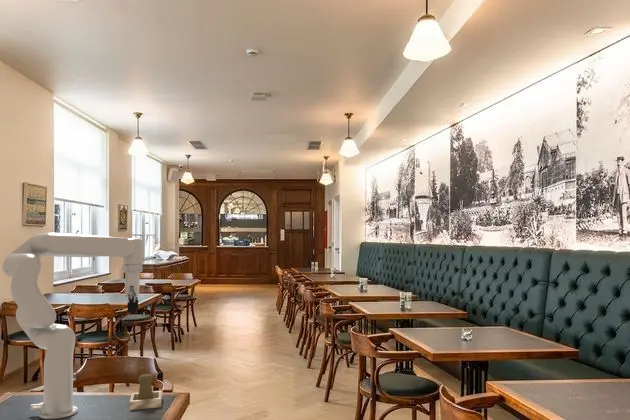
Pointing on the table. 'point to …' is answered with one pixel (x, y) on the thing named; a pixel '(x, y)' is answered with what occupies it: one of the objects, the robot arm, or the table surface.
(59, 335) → the robot arm
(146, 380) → the cork
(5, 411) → the table surface
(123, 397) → the table surface
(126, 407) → the table surface
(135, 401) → the beige square frame
